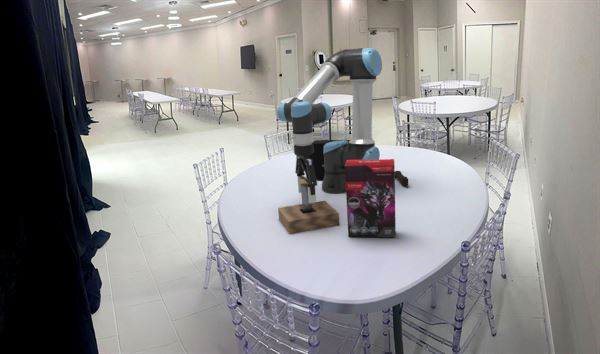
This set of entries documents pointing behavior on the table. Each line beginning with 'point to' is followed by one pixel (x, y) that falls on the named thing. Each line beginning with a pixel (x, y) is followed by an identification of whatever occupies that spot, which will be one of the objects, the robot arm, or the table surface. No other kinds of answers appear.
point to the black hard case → (320, 157)
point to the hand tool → (401, 179)
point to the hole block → (308, 217)
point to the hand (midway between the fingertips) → (307, 197)
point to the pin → (305, 196)
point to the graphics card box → (370, 198)
